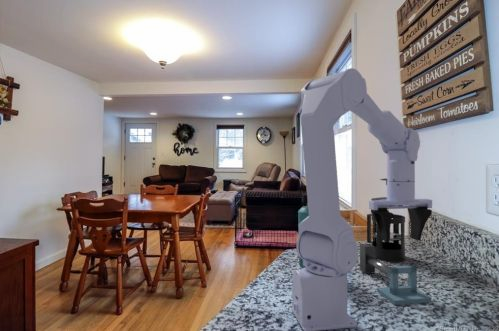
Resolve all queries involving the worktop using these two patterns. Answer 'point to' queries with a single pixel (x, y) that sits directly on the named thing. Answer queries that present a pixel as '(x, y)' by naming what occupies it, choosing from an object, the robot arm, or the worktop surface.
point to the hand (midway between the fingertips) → (400, 240)
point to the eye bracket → (403, 287)
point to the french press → (390, 249)
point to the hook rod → (371, 260)
